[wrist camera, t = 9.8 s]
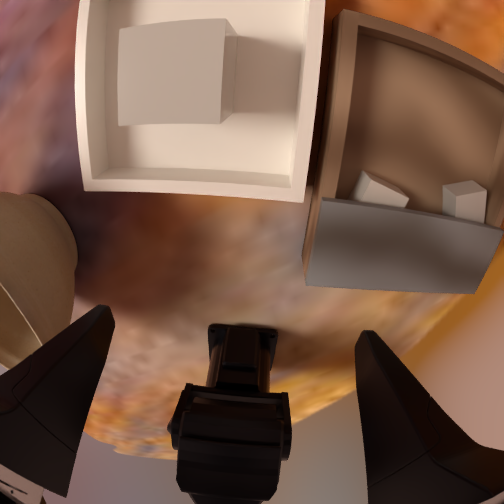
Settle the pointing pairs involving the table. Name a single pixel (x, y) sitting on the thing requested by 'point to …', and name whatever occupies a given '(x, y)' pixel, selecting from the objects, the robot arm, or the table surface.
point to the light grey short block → (377, 191)
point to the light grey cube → (177, 72)
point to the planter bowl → (33, 275)
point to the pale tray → (205, 135)
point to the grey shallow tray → (404, 161)
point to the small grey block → (464, 201)
